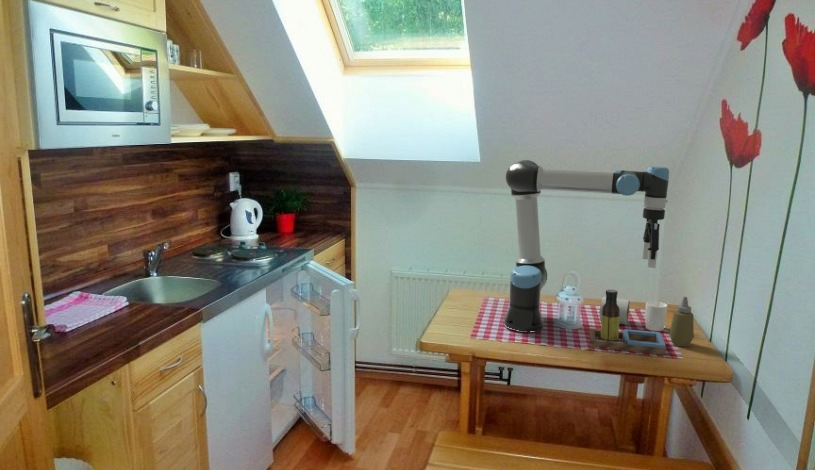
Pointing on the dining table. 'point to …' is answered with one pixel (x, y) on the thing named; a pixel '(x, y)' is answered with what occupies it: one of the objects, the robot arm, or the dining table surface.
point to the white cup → (655, 315)
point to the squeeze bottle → (682, 325)
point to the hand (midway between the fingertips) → (648, 263)
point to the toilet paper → (623, 308)
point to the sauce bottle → (610, 317)
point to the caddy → (630, 345)
